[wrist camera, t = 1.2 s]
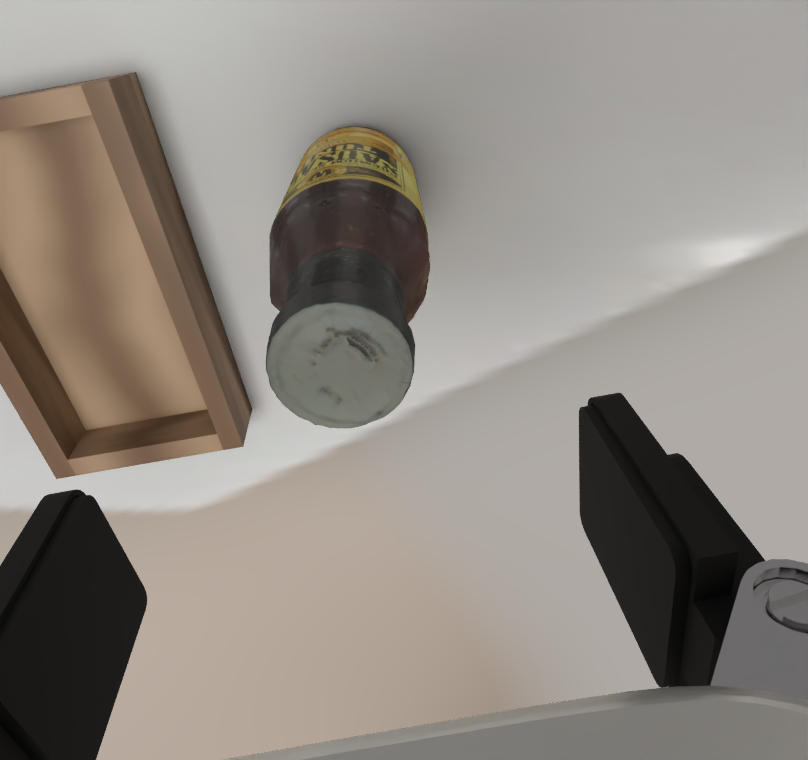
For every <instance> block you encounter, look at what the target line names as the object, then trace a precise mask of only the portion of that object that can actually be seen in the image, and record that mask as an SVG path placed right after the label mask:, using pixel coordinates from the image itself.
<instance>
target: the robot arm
mask: <svg viewBox="0 0 808 760" xmlns="http://www.w3.org/2000/svg"><path fill="white" fill-rule="evenodd" d="M579 471H580V476H579V477H580V516H581V521H582V525H583V528H584V531H585V533H586V535H587V537H588V539H589V541H590V543H591V546H592V547H593V550H594V552H595V554H596V556H597V558H598V560H599V563H600V564H601V567H602V569H603V571H604V573H605V575H606V577H607V579H608V582H609V584H610V586H611V588H612V590H613V592H614V594H615V596H616V599H617V601H618V603H619V605H620V607H621V609H622V611H623V613H624V615H625V618H626V620H627V622H628V624H629V626H630V628H631V630H632V632H633V634H634V637H635V639H636V641H637V643H638V645H639V647H640V650H641V652H642V654H643V656H644V658H645V660H646V662H647V664H648V666H649V669H650V671H651V673H652V675H653V677H654V679H655V681H656V683H657V684H658V685H659V687H661V688H658V689H648V690H638V691H628V692H621V693H615V694H608V695H602V696H596V697H589V698H582V699H576V700H569V701H562V702H556V703H549V704H543V705H536V706H531V707H524V708H518V709H513V710H507V711H501V712H495V713H489V714H484V715H477V716H472V717H466V718H460V719H454V720H448V721H442V722H437V723H431V724H424V725H419V726H413V727H407V728H401V729H395V730H389V731H384V732H378V733H372V734H366V735H361V736H355V737H349V738H343V739H338V740H332V741H326V742H321V743H315V744H309V745H304V746H298V747H292V748H286V749H281V750H275V751H270V752H264V753H258V754H253V755H247V756H242V757H236V758H230V759H224V760H808V564H807V563H803V562H797V561H793V560H787V559H783V560H782V559H771V560H768V561H765V560H764V558H763V557H762V556H761V554H760V553H759V552H758V551H757V549H756V548H755V547H754V545H753V544H752V543H751V542H750V540H749V539H748V538H747V537H746V535H745V534H744V533H743V531H742V530H741V529H740V527H739V526H738V525H737V524H736V522H735V521H734V520H733V518H732V517H731V516H730V515H729V513H728V512H727V511H726V509H725V508H724V507H723V506H722V504H721V503H720V502H719V501H718V499H717V498H716V497H715V496H714V494H713V493H712V491H711V490H710V489H709V488H708V486H707V485H706V484H705V482H704V481H703V480H702V479H701V477H700V476H699V475H698V473H697V472H696V471H695V470H694V468H693V467H692V466H691V464H690V463H689V462H688V461H687V460H686V459H685V458H684V457H683V456H682V455H680V454H678V453H676V454H670V455H667V454H666V453H665V451H664V450H663V448H662V447H661V446H660V444H659V443H658V442H657V440H656V439H655V438H654V436H653V435H652V434H651V433H650V431H649V430H648V428H647V427H646V425H645V424H644V423H643V421H642V420H641V419H640V417H639V416H638V415H637V413H636V412H635V411H634V409H633V408H632V407H631V405H630V404H629V403H628V401H627V400H626V398H625V397H624V396H623V395H622V394H621V393H615V394H609V395H604V396H598V397H593V398H590V399H589V401H588V406H585V407H581V408H580V410H579ZM146 605H147V595H146V591H145V588H144V586H143V584H142V582H141V581H140V579H139V577H138V575H137V573H136V572H135V570H134V568H133V566H132V565H131V563H130V561H129V559H128V557H127V556H126V554H125V552H124V550H123V548H122V546H121V545H120V543H119V541H118V539H117V538H116V536H115V534H114V532H113V530H112V528H111V527H110V525H109V523H108V521H107V520H106V518H105V516H104V514H103V512H102V510H101V509H100V507H99V505H98V503H97V501H96V500H95V498H94V497H92V496H91V495H85V493H84V492H82V491H81V490H71V491H66V492H60V493H54V494H49V495H46V496H44V498H43V499H42V500H41V501H40V503H39V504H38V506H37V508H36V509H35V511H34V513H33V514H32V516H31V517H30V519H29V521H28V522H27V524H26V525H25V527H24V529H23V530H22V532H21V534H20V535H19V537H18V538H17V540H16V541H15V543H14V545H13V546H12V548H11V550H10V551H9V553H8V554H7V556H6V557H5V559H4V561H3V562H2V564H1V566H0V760H96V757H97V754H98V751H99V748H100V745H101V742H102V739H103V736H104V733H105V730H106V727H107V724H108V721H109V718H110V715H111V712H112V709H113V706H114V703H115V700H116V697H117V694H118V691H119V688H120V685H121V682H122V679H123V676H124V673H125V670H126V667H127V664H128V661H129V658H130V655H131V652H132V649H133V646H134V642H135V640H136V637H137V634H138V631H139V628H140V625H141V622H142V619H143V616H144V612H145V610H146ZM663 687H667V688H663Z"/></svg>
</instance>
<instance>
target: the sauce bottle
mask: <svg viewBox="0 0 808 760" xmlns="http://www.w3.org/2000/svg"><path fill="white" fill-rule="evenodd" d="M429 257H430V256H429V251H428V233H427V228H426V224H425V219H424V214H423V209H422V205H421V200H420V196H419V192H418V188H417V184H416V179H415V175H414V171H413V168H412V166H411V164H410V162H409V160H408V158H407V156H406V155H405V153H404V152H403V150H402V149H401V148H400V147H399V146H398V145H397V144H396V143H395V142H393V141H392V140H391V139H390V138H388V137H387V136H386V135H385V134H384V133H382V132H380V131H377V130H374V129H369V128H362V127H353V126H350V127H347V128H339V129H336V130H334V131H332V132H330V133H328V134H326V135H324V136H322V137H320V138H319V139H318V140H317V141H316V142H314V143H313V144H312V145H311V146H310V147H309V149H308V150H307V151H306V153H305V154H304V156H303V158H302V160H301V162H300V164H299V166H298V168H297V170H296V173H295V175H294V177H293V180H292V182H291V184H290V186H289V188H288V190H287V193H286V195H285V197H284V199H283V202H282V204H281V207H280V209H279V211H278V213H277V215H276V218H275V220H274V222H273V225H272V228H271V233H270V297H271V303H272V304H273V305H274V306H275V307H276V308H277V309H278V310H279V311H280V312H279V314H278V315H277V317H276V318H275V320H274V322H273V324H272V328H271V333H270V336H269V342H268V346H267V355H266V371H267V374H268V377H269V382H270V386H271V388H272V390H273V391H274V392H275V394H276V396H277V397H278V399H279V400H280V401H281V402H282V404H283V405H285V406H286V407H287V408H288V409H289V410H290V411H292V412H293V413H295V414H296V415H297V416H299V417H301V418H303V419H305V420H308V421H310V422H312V423H313V424H315V425H322V426H325V427H329V428H354V427H359V426H362V425H365V424H367V423H370V422H372V421H375V420H378V419H380V418H383V417H384V416H386V415H388V414H389V413H390V412H391V411H393V410H394V409H395V408H396V407H397V406H398V405H399V404H400V402H401V401H402V400H403V398H404V396H405V394H406V392H407V390H408V389H409V387H410V384H411V379H412V376H413V373H414V355H415V343H414V338H413V334H412V331H411V329H410V327H409V325H408V323H409V322H410V321H411V319H412V318H413V317H414V315H415V313H416V312H417V310H418V308H419V307H420V305H421V304H422V302H423V300H424V297H425V295H426V289H427V283H428V276H429V271H430V262H429Z"/></svg>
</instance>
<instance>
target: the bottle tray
mask: <svg viewBox="0 0 808 760" xmlns="http://www.w3.org/2000/svg"><path fill="white" fill-rule="evenodd" d="M0 384H1V385H2V387H3V389H4V391H5V392H6V394H7V396H8V397H9V399H10V401H11V402H12V404H13V406H14V407H15V409H16V411H17V413H18V414H19V416H20V418H21V419H22V421H23V423H24V424H25V426H26V428H27V430H28V431H29V433H30V435H31V436H32V438H33V440H34V441H35V443H36V445H37V446H38V448H39V450H40V452H41V453H42V455H43V457H44V458H45V460H46V462H47V463H48V465H49V467H50V469H51V470H52V472H53V474H54V475H55V477H56V479H58V478H64V477H70V476H76V475H81V474H87V473H93V472H99V471H105V470H110V469H116V468H122V467H128V466H133V465H139V464H145V463H151V462H157V461H162V460H168V459H174V458H180V457H185V456H191V455H197V454H203V453H209V452H214V451H220V450H226V449H232V448H237V447H243V445H244V440H245V436H246V432H247V428H248V424H249V420H250V416H251V412H252V408H251V405H250V402H249V399H248V396H247V393H246V391H245V388H244V385H243V382H242V379H241V376H240V373H239V370H238V367H237V365H236V362H235V359H234V356H233V353H232V350H231V347H230V344H229V341H228V338H227V336H226V333H225V330H224V327H223V324H222V321H221V318H220V315H219V312H218V309H217V307H216V304H215V301H214V298H213V295H212V292H211V289H210V286H209V283H208V280H207V278H206V275H205V272H204V269H203V266H202V263H201V260H200V257H199V254H198V252H197V249H196V246H195V243H194V240H193V237H192V234H191V231H190V228H189V225H188V223H187V220H186V217H185V214H184V211H183V208H182V205H181V202H180V199H179V196H178V194H177V191H176V188H175V185H174V182H173V179H172V176H171V173H170V170H169V167H168V165H167V162H166V159H165V156H164V153H163V150H162V147H161V144H160V141H159V138H158V136H157V133H156V130H155V127H154V124H153V121H152V118H151V115H150V112H149V110H148V107H147V104H146V101H145V98H144V95H143V92H142V89H141V86H140V83H139V81H138V78H137V75H136V72H135V73H129V74H124V75H118V76H113V77H107V78H102V79H96V80H91V81H85V82H80V83H74V84H69V85H64V86H58V87H53V88H47V89H42V90H36V91H31V92H25V93H20V94H14V95H9V96H3V97H0Z"/></svg>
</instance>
